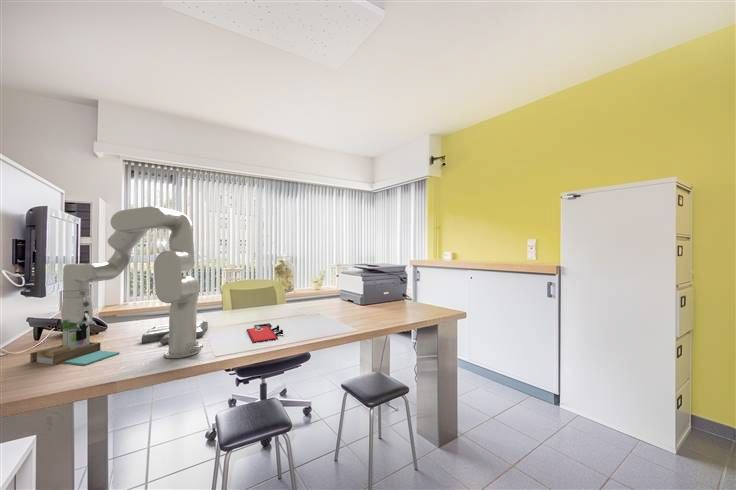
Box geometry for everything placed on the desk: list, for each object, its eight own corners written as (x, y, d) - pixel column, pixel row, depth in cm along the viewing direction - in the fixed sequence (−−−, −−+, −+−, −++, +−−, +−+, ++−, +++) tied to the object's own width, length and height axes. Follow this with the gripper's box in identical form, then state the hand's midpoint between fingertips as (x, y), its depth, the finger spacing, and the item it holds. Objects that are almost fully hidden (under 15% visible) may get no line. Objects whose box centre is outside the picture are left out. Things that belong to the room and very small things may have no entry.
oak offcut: (70, 353, 112) (70, 347, 112) (53, 358, 107) (53, 351, 107) (54, 352, 113) (54, 345, 113) (37, 357, 108) (37, 350, 108)
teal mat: (119, 353, 117) (119, 352, 117) (85, 365, 105) (85, 363, 105) (99, 351, 119) (99, 350, 119) (64, 363, 107) (64, 361, 107)
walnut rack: (100, 350, 120) (100, 342, 120) (55, 365, 106) (55, 355, 106) (77, 348, 123) (77, 340, 123) (30, 362, 108) (30, 353, 108)
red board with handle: (273, 324, 166) (244, 328, 158) (273, 319, 166) (244, 323, 158) (286, 339, 139) (252, 344, 132) (286, 333, 139) (252, 338, 132)
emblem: (177, 317, 159) (221, 320, 153) (177, 327, 159) (221, 330, 153) (125, 331, 132) (177, 335, 126) (125, 343, 131) (177, 348, 126)
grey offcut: (70, 359, 112) (71, 353, 112) (52, 365, 106) (52, 358, 106) (55, 358, 113) (55, 351, 113) (36, 363, 108) (36, 356, 108)
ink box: (67, 355, 113) (68, 321, 113) (61, 354, 114) (62, 320, 114) (89, 349, 119) (90, 317, 119) (83, 348, 120) (84, 316, 121)
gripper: (103, 293, 119) (103, 337, 119) (71, 292, 122) (70, 335, 122) (82, 296, 112) (82, 343, 111) (48, 295, 115) (48, 341, 114)
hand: (76, 339), depth 117 cm, fingers closed on ink box, 4 cm apart
